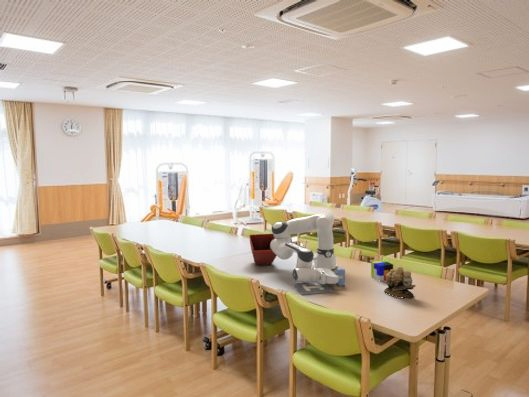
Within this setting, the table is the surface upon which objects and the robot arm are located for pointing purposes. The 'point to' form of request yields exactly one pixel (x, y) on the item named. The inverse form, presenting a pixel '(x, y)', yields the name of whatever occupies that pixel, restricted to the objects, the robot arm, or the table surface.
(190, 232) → the table surface
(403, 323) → the table surface
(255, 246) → the plant pot
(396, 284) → the owl figurine
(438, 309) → the table surface
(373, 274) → the puzzle toy
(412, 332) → the table surface
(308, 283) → the letter board
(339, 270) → the blue block
